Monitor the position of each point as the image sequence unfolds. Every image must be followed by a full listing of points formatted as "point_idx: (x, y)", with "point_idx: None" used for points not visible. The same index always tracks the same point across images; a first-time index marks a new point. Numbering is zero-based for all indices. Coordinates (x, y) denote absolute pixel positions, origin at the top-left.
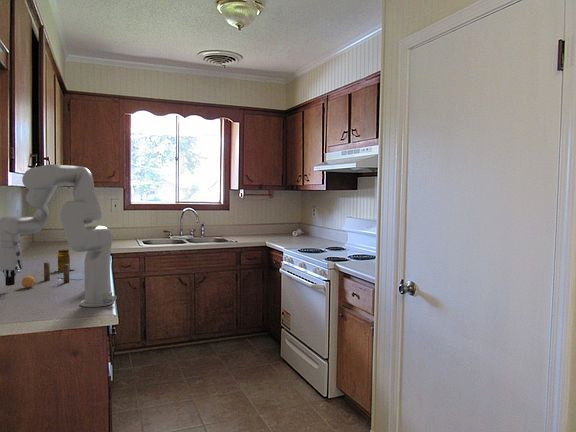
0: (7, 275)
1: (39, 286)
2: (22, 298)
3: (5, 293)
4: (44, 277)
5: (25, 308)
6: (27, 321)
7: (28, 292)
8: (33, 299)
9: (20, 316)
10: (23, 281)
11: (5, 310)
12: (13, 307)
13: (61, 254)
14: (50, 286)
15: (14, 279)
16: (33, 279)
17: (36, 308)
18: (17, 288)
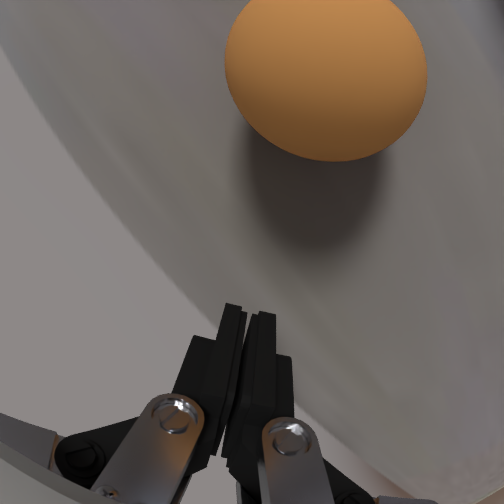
0: (197, 463)
1: None
2: (443, 424)
3: None
4: None
5: (472, 476)
6: (480, 498)
7: (436, 298)
8: (491, 416)
9: (466, 497)
10: (310, 155)
11: None
12: (438, 486)
13: None
14: (478, 25)
15: (275, 361)
16: (425, 64)
17: (498, 463)
18: (206, 137)
